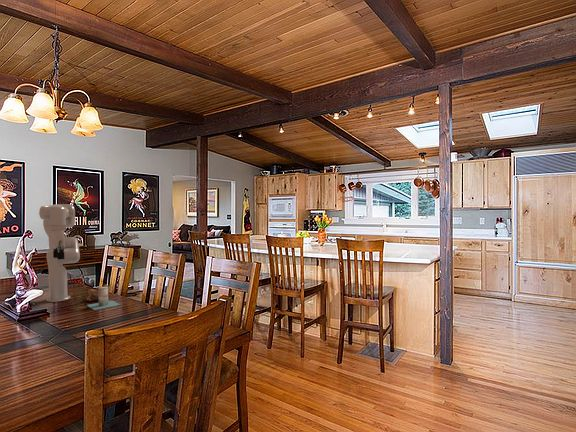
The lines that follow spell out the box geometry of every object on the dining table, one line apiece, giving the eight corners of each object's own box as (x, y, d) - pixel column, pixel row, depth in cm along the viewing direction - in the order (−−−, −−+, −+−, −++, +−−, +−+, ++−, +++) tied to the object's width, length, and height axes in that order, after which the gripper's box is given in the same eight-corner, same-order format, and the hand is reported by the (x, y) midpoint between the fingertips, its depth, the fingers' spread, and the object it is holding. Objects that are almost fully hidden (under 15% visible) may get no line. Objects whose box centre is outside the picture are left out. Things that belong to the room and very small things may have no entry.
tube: (97, 304, 203) (97, 287, 202) (106, 303, 206) (106, 286, 206) (100, 306, 199) (99, 289, 199) (109, 304, 203) (109, 287, 202)
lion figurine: (109, 297, 220) (109, 283, 220) (108, 299, 215) (108, 285, 215) (83, 299, 216) (83, 285, 215) (81, 302, 210) (81, 287, 210)
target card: (86, 305, 203) (86, 305, 203) (112, 300, 212) (112, 300, 212) (94, 310, 193) (94, 309, 193) (120, 305, 203) (120, 304, 203)
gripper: (46, 228, 201) (47, 257, 201) (53, 229, 188) (54, 260, 189) (61, 227, 206) (62, 256, 206) (69, 228, 194) (70, 259, 194)
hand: (58, 258), depth 198 cm, fingers open, 9 cm apart
